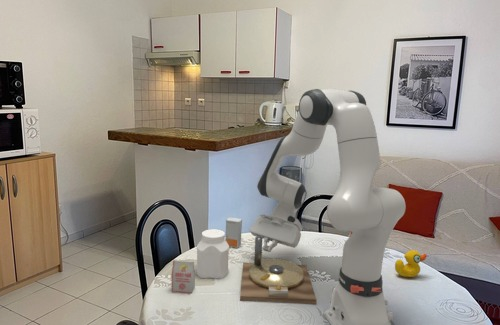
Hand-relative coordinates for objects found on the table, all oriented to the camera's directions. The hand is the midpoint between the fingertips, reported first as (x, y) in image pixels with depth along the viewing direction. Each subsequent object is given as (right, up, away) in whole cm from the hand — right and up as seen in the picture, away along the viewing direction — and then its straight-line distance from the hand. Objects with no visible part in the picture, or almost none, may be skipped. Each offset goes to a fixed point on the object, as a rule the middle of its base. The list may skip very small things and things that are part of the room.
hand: (266, 250), depth 135 cm
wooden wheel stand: (+3, -9, -9) cm, 13 cm away
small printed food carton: (-28, -9, -16) cm, 34 cm away
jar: (-20, -7, -3) cm, 21 cm away
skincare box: (-13, -3, +22) cm, 26 cm away
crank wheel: (+3, -7, -7) cm, 11 cm away
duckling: (+53, -10, 0) cm, 54 cm away
